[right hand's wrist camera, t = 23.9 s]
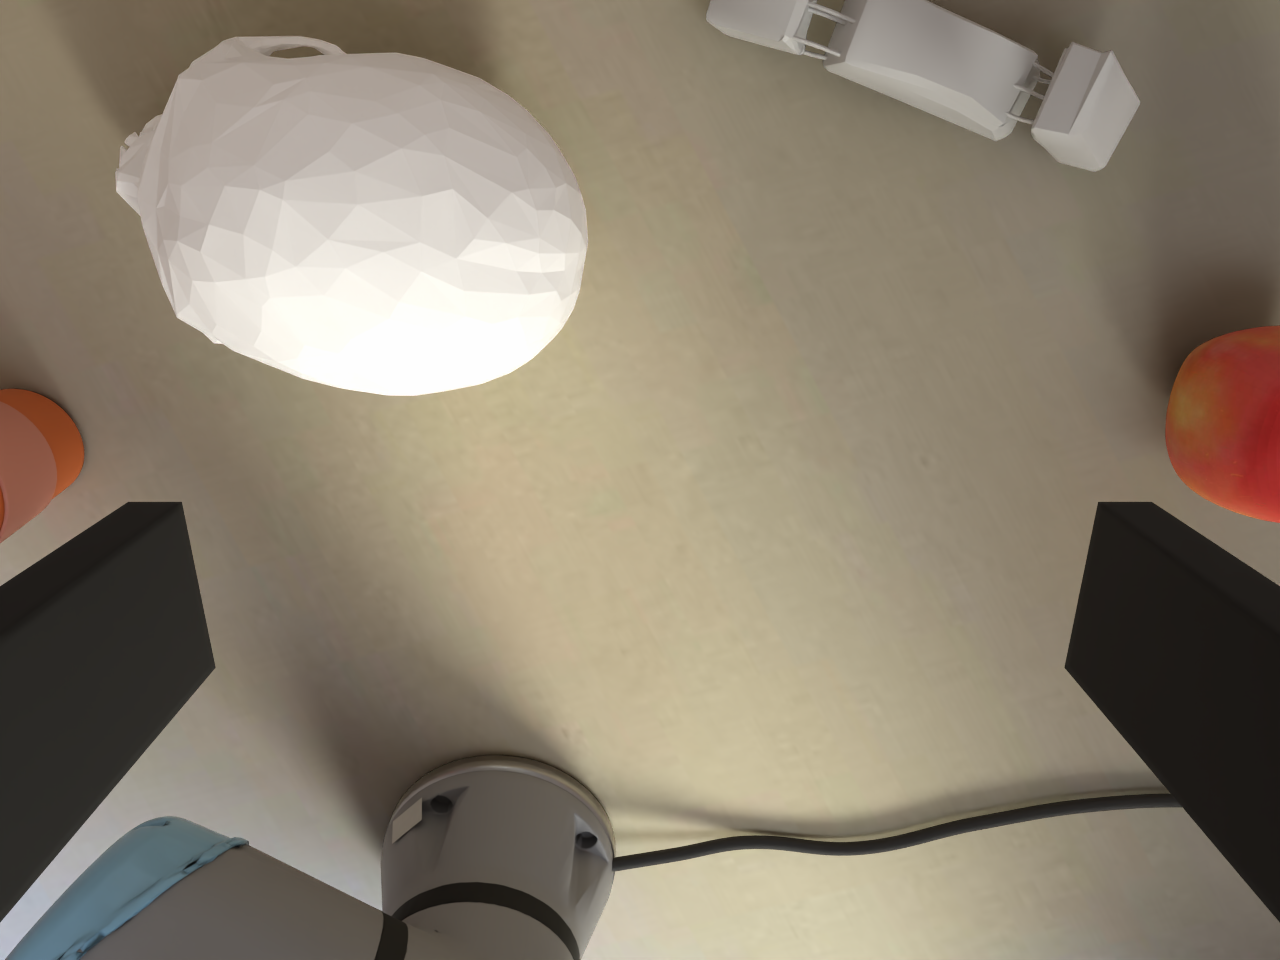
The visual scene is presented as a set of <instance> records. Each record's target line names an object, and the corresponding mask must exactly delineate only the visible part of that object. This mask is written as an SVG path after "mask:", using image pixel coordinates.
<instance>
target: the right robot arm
mask: <svg viewBox="0 0 1280 960" xmlns="http://www.w3.org/2000/svg"><path fill="white" fill-rule="evenodd" d="M214 669H215V663H214V658H213V653H212V648H211V643H210V639H209V634H208V629H207V624H206V619H205V614H204V609H203V604H202V599H201V594H200V589H199V584H198V580H197V575H196V570H195V565H194V560H193V555H192V550H191V545H190V540H189V535H188V530H187V525H186V521H185V516H184V511H183V506H182V502H128V503H126V504H125V505H123V506H121V507H120V508H118V509H117V510H115V511H114V512H112V513H111V514H109V515H108V516H106V517H105V518H103V519H102V520H100V521H99V522H97V523H96V524H94V525H93V526H91V527H90V528H88V529H87V530H85V531H84V532H82V533H80V534H79V535H77V536H76V537H74V538H73V539H71V540H70V541H68V542H67V543H65V544H64V545H62V546H61V547H59V548H58V549H56V550H55V551H53V552H52V553H50V554H49V555H47V556H46V557H44V558H43V559H41V560H40V561H38V562H36V563H35V564H33V565H32V566H30V567H29V568H27V569H26V570H24V571H23V572H21V573H20V574H18V575H17V576H15V577H14V578H12V579H11V580H9V581H8V582H6V583H5V584H3V585H2V586H0V922H1V921H2V920H3V918H4V917H5V916H6V915H7V914H8V913H9V911H10V910H11V909H12V908H13V907H14V905H15V904H16V903H17V902H18V901H19V900H20V898H21V897H22V896H23V895H24V894H25V892H26V891H27V890H28V889H29V888H30V887H31V885H32V884H33V883H34V882H35V881H36V879H37V878H38V877H39V876H40V875H41V873H42V872H43V871H44V870H45V869H46V868H47V866H48V865H49V864H50V863H51V862H52V860H53V859H54V858H55V857H56V856H57V855H58V853H59V852H60V851H61V850H62V849H63V847H64V846H65V845H66V844H67V843H68V842H69V840H70V839H71V838H72V837H73V836H74V834H75V833H76V832H77V831H78V830H79V828H80V827H81V826H82V825H83V824H84V823H85V821H86V820H87V819H88V818H89V817H90V815H91V814H92V813H93V812H94V811H95V810H96V808H97V807H98V806H99V805H100V804H101V802H102V801H103V800H104V799H105V798H106V797H107V795H108V794H109V793H110V792H111V791H112V789H113V788H114V787H115V786H116V785H117V784H118V782H119V781H120V780H121V779H122V778H123V776H124V775H125V774H126V773H127V772H128V770H129V769H130V768H131V767H132V766H133V765H134V763H135V762H136V761H137V760H138V759H139V757H140V756H141V755H142V754H143V753H144V752H145V750H146V749H147V748H148V747H149V746H150V744H151V743H152V742H153V741H154V740H155V739H156V737H157V736H158V735H159V734H160V733H161V731H162V730H163V729H164V728H165V727H166V726H167V724H168V723H169V722H170V721H171V720H172V718H173V717H174V716H175V715H176V714H177V712H178V711H179V710H180V709H181V708H182V707H183V705H184V704H185V703H186V702H187V701H188V699H189V698H190V697H191V696H192V695H193V694H194V692H195V691H196V690H197V689H198V688H199V686H200V685H201V684H202V683H203V682H204V681H205V679H206V678H207V677H208V676H209V675H210V673H211V672H212V671H213V670H214ZM1065 669H1066V670H1067V671H1068V672H1069V673H1070V675H1071V676H1072V677H1073V678H1074V679H1075V681H1076V682H1077V683H1078V684H1079V685H1080V686H1081V688H1082V689H1083V690H1084V691H1085V692H1086V694H1087V695H1088V696H1089V697H1090V698H1091V699H1092V701H1093V702H1094V703H1095V704H1096V705H1097V707H1098V708H1099V709H1100V710H1101V711H1102V712H1103V714H1104V715H1105V716H1106V717H1107V718H1108V720H1109V721H1110V722H1111V723H1112V724H1113V726H1114V727H1115V728H1116V729H1117V730H1118V731H1119V733H1120V734H1121V735H1122V736H1123V737H1124V739H1125V740H1126V741H1127V742H1128V743H1129V744H1130V746H1131V747H1132V748H1133V749H1134V750H1135V752H1136V753H1137V754H1138V755H1139V756H1140V757H1141V759H1142V760H1143V761H1144V762H1145V763H1146V765H1147V766H1148V767H1149V768H1150V769H1151V770H1152V772H1153V773H1154V774H1155V775H1156V776H1157V778H1158V779H1159V780H1160V781H1161V782H1162V784H1163V785H1164V786H1165V787H1166V788H1167V789H1168V791H1169V792H1170V793H1171V794H1143V795H1125V796H1112V797H1100V798H1090V799H1080V800H1071V801H1063V802H1056V803H1049V804H1043V805H1037V806H1031V807H1025V808H1020V809H1014V810H1009V811H1004V812H998V813H993V814H988V815H983V816H977V817H972V818H967V819H962V820H958V821H953V822H949V823H945V824H941V825H937V826H933V827H929V828H926V829H922V830H918V831H914V832H910V833H906V834H902V835H898V836H893V837H888V838H882V839H876V840H869V841H859V842H823V841H813V840H804V839H796V838H788V837H778V836H737V837H728V838H721V839H716V840H711V841H706V842H702V843H697V844H693V845H688V846H683V847H677V848H671V849H665V850H659V851H653V852H647V853H641V854H634V855H628V856H622V857H615V853H616V848H615V838H614V833H613V829H612V826H611V823H610V821H609V819H608V816H607V814H606V813H605V811H604V809H603V808H602V806H601V805H600V803H599V802H598V801H597V799H596V798H595V797H594V796H593V795H592V794H591V793H590V792H589V791H588V790H587V789H586V788H585V787H584V786H583V785H582V784H580V783H579V782H578V781H576V780H575V779H574V778H572V777H570V776H569V775H567V774H565V773H564V772H562V771H560V770H558V769H556V768H554V767H551V766H549V765H546V764H544V763H541V762H537V761H534V760H531V759H526V758H521V757H514V756H504V755H486V756H476V757H470V758H465V759H461V760H457V761H454V762H451V763H448V764H446V765H443V766H441V767H439V768H437V769H435V770H433V771H431V772H429V773H428V774H426V775H425V776H423V777H422V778H421V779H419V780H418V781H417V782H415V783H414V784H413V785H412V786H411V787H410V788H409V789H408V790H407V792H406V793H405V794H404V795H403V796H402V798H401V799H400V801H399V803H398V804H397V806H396V808H395V810H394V812H393V815H392V817H391V820H390V823H389V825H388V828H387V831H386V834H385V837H384V842H383V849H382V855H381V883H382V909H383V912H382V911H381V910H378V909H376V908H374V907H372V906H370V905H368V904H366V903H364V902H362V901H360V900H358V899H356V898H354V897H352V896H350V895H348V894H346V893H344V892H342V891H340V890H338V889H336V888H334V887H332V886H330V885H327V884H325V883H323V882H321V881H319V880H317V879H315V878H313V877H311V876H309V875H307V874H305V873H303V872H301V871H299V870H297V869H295V868H293V867H291V866H289V865H287V864H285V863H283V862H281V861H279V860H277V859H275V858H273V857H271V856H269V855H267V854H265V853H263V852H261V851H259V850H257V849H255V848H253V847H251V846H249V841H247V840H245V839H243V838H236V837H234V838H229V837H226V836H224V835H221V834H219V833H217V832H214V831H212V830H210V829H207V828H205V827H202V826H200V825H198V824H195V823H193V822H191V821H188V820H186V819H183V818H179V817H172V816H167V817H159V818H155V819H152V820H149V821H146V822H144V823H142V824H140V825H139V826H137V827H135V828H134V829H132V830H131V831H129V832H128V833H126V834H125V835H124V836H123V837H121V838H120V839H119V840H118V841H116V842H115V843H114V844H113V845H112V846H111V847H109V848H108V849H107V850H106V851H105V852H104V853H103V854H102V855H101V856H100V857H99V858H98V859H97V860H96V861H95V862H94V863H93V864H92V865H90V866H89V867H88V868H87V869H86V870H85V871H84V872H83V873H82V874H81V875H80V876H79V877H78V879H77V880H76V881H75V882H74V883H73V884H72V885H71V886H70V887H69V888H68V889H67V890H66V891H65V892H64V893H63V894H62V895H61V896H60V897H59V899H58V900H57V901H56V902H55V903H54V904H53V905H52V906H51V907H50V908H49V909H48V910H47V912H46V913H45V914H44V915H43V916H42V917H41V918H40V919H39V920H38V922H37V923H36V924H35V925H34V926H33V927H32V928H31V929H30V931H29V932H28V933H27V934H26V935H25V936H24V937H23V939H22V940H21V941H20V942H19V943H18V944H17V946H16V947H15V948H14V949H13V950H12V952H11V953H10V954H9V955H8V957H7V958H6V959H5V960H581V958H582V956H583V953H584V951H585V949H586V947H587V945H588V943H589V940H590V938H591V936H592V934H593V932H594V929H595V927H596V925H597V923H598V921H599V918H600V916H601V914H602V912H603V910H604V907H605V905H606V903H607V901H608V898H609V895H610V891H611V887H612V884H613V879H614V874H615V871H620V870H626V869H632V868H639V867H645V866H651V865H657V864H663V863H669V862H675V861H681V860H686V859H691V858H696V857H700V856H705V855H709V854H714V853H719V852H725V851H731V850H741V849H775V850H786V851H794V852H802V853H810V854H820V855H838V856H841V855H863V854H873V853H880V852H886V851H892V850H897V849H902V848H906V847H910V846H914V845H918V844H922V843H926V842H930V841H933V840H937V839H941V838H945V837H949V836H953V835H957V834H962V833H966V832H971V831H976V830H982V829H987V828H992V827H998V826H1003V825H1008V824H1014V823H1019V822H1025V821H1030V820H1036V819H1042V818H1048V817H1055V816H1062V815H1069V814H1077V813H1086V812H1096V811H1107V810H1119V809H1133V808H1155V807H1183V808H1184V810H1185V811H1186V812H1187V813H1188V814H1189V815H1190V817H1191V818H1192V819H1193V820H1194V821H1195V823H1196V824H1197V825H1198V826H1199V827H1200V828H1201V830H1202V831H1203V832H1204V833H1205V834H1206V836H1207V837H1208V838H1209V839H1210V840H1211V842H1212V843H1213V844H1214V845H1215V846H1216V847H1217V849H1218V850H1219V851H1220V852H1221V853H1222V855H1223V856H1224V857H1225V858H1226V859H1227V860H1228V862H1229V863H1230V864H1231V865H1232V866H1233V868H1234V869H1235V870H1236V871H1237V872H1238V873H1239V875H1240V876H1241V877H1242V878H1243V879H1244V881H1245V882H1246V883H1247V884H1248V885H1249V887H1250V888H1251V889H1252V890H1253V891H1254V892H1255V894H1256V895H1257V896H1258V897H1259V898H1260V900H1261V901H1262V902H1263V903H1264V904H1265V905H1266V907H1267V908H1268V909H1269V910H1270V911H1271V913H1272V914H1273V915H1274V916H1275V917H1276V918H1277V920H1278V921H1279V922H1280V586H1278V585H1277V584H1275V583H1274V582H1272V581H1271V580H1269V579H1268V578H1266V577H1265V576H1263V575H1262V574H1260V573H1259V572H1257V571H1256V570H1254V569H1253V568H1251V567H1250V566H1248V565H1247V564H1245V563H1244V562H1242V561H1240V560H1239V559H1237V558H1236V557H1234V556H1233V555H1231V554H1230V553H1228V552H1227V551H1225V550H1224V549H1222V548H1221V547H1219V546H1218V545H1216V544H1215V543H1213V542H1212V541H1210V540H1209V539H1207V538H1206V537H1204V536H1203V535H1201V534H1200V533H1198V532H1196V531H1195V530H1193V529H1192V528H1190V527H1189V526H1187V525H1186V524H1184V523H1183V522H1181V521H1180V520H1178V519H1177V518H1175V517H1174V516H1172V515H1171V514H1169V513H1168V512H1166V511H1165V510H1163V509H1162V508H1160V507H1159V506H1157V505H1155V504H1154V503H1152V502H1098V506H1097V511H1096V516H1095V521H1094V525H1093V530H1092V535H1091V540H1090V545H1089V550H1088V555H1087V560H1086V565H1085V570H1084V575H1083V580H1082V584H1081V589H1080V594H1079V599H1078V604H1077V609H1076V614H1075V619H1074V624H1073V629H1072V634H1071V639H1070V643H1069V648H1068V653H1067V658H1066V663H1065Z"/></svg>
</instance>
